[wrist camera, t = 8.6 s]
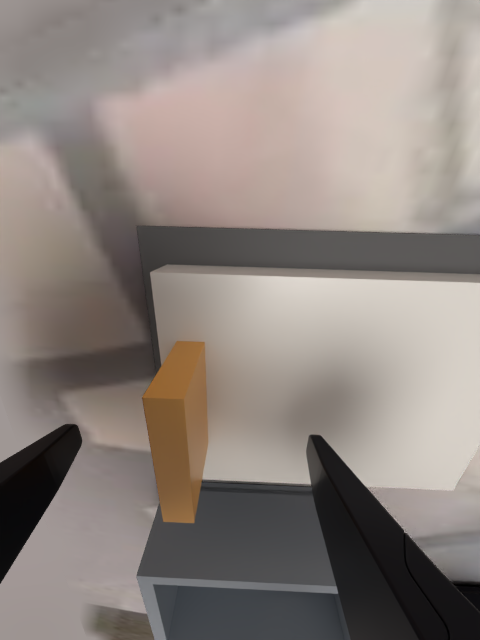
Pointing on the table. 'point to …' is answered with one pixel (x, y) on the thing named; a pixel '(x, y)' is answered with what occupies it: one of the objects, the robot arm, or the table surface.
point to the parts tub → (242, 569)
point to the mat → (301, 253)
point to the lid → (311, 377)
